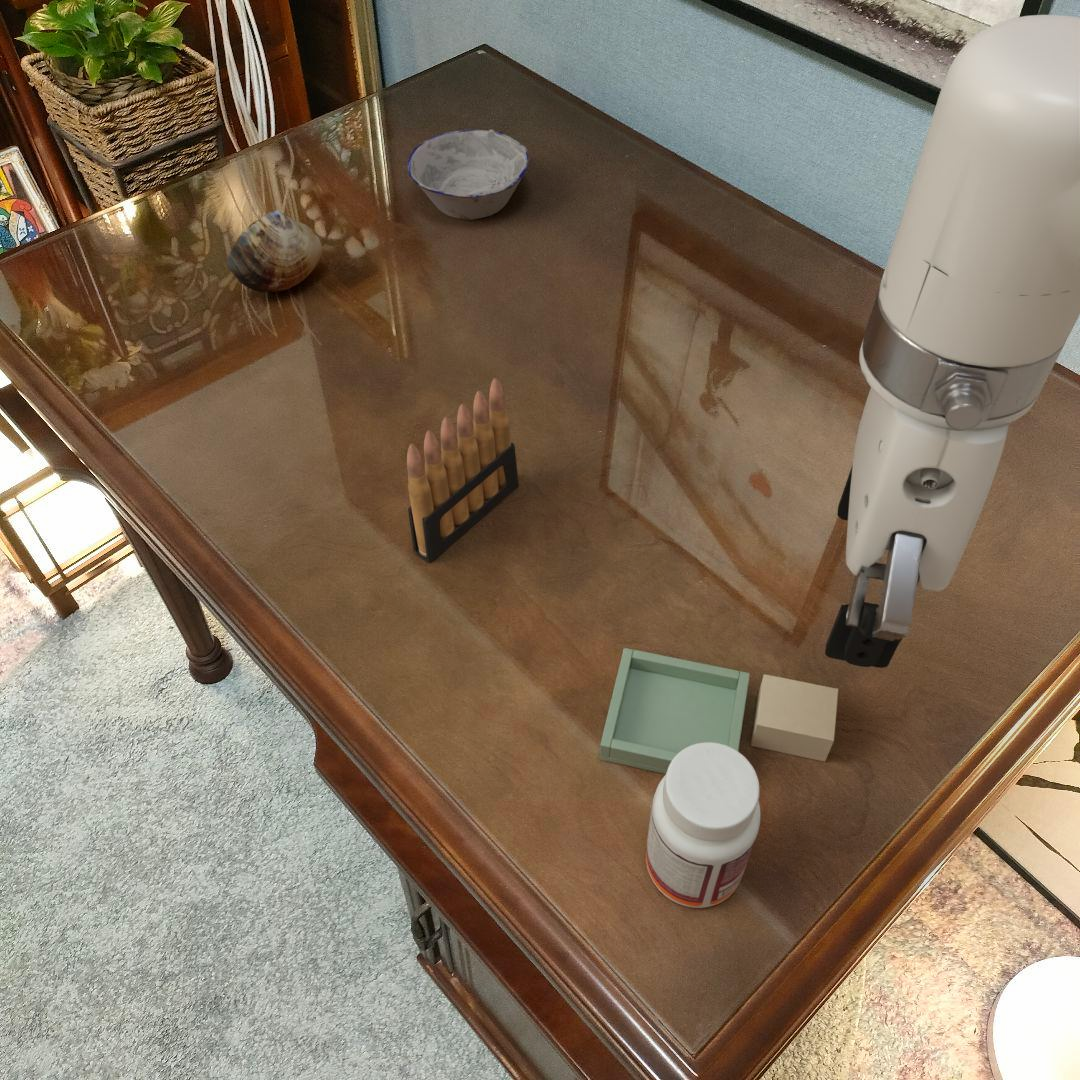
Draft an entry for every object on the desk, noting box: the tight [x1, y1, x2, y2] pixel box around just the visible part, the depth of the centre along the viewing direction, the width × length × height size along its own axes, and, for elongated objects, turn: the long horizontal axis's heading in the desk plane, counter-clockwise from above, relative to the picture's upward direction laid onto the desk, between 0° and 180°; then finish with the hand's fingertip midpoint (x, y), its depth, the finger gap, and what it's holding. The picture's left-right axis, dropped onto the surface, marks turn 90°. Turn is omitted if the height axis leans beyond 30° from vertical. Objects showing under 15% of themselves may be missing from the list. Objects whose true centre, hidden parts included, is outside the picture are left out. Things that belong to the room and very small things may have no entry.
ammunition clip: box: [406, 376, 520, 563], centre depth 78 cm, size 11×2×12 cm, turn 140°
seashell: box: [226, 209, 323, 293], centre depth 99 cm, size 10×6×8 cm, turn 125°
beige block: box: [750, 673, 839, 762], centre depth 69 cm, size 5×4×3 cm
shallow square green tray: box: [599, 647, 751, 775], centre depth 70 cm, size 9×8×2 cm
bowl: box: [406, 128, 530, 221], centre depth 110 cm, size 13×13×5 cm
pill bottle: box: [645, 742, 762, 909], centre depth 60 cm, size 6×6×11 cm
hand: (859, 585), depth 56 cm, fingers open, 9 cm apart
